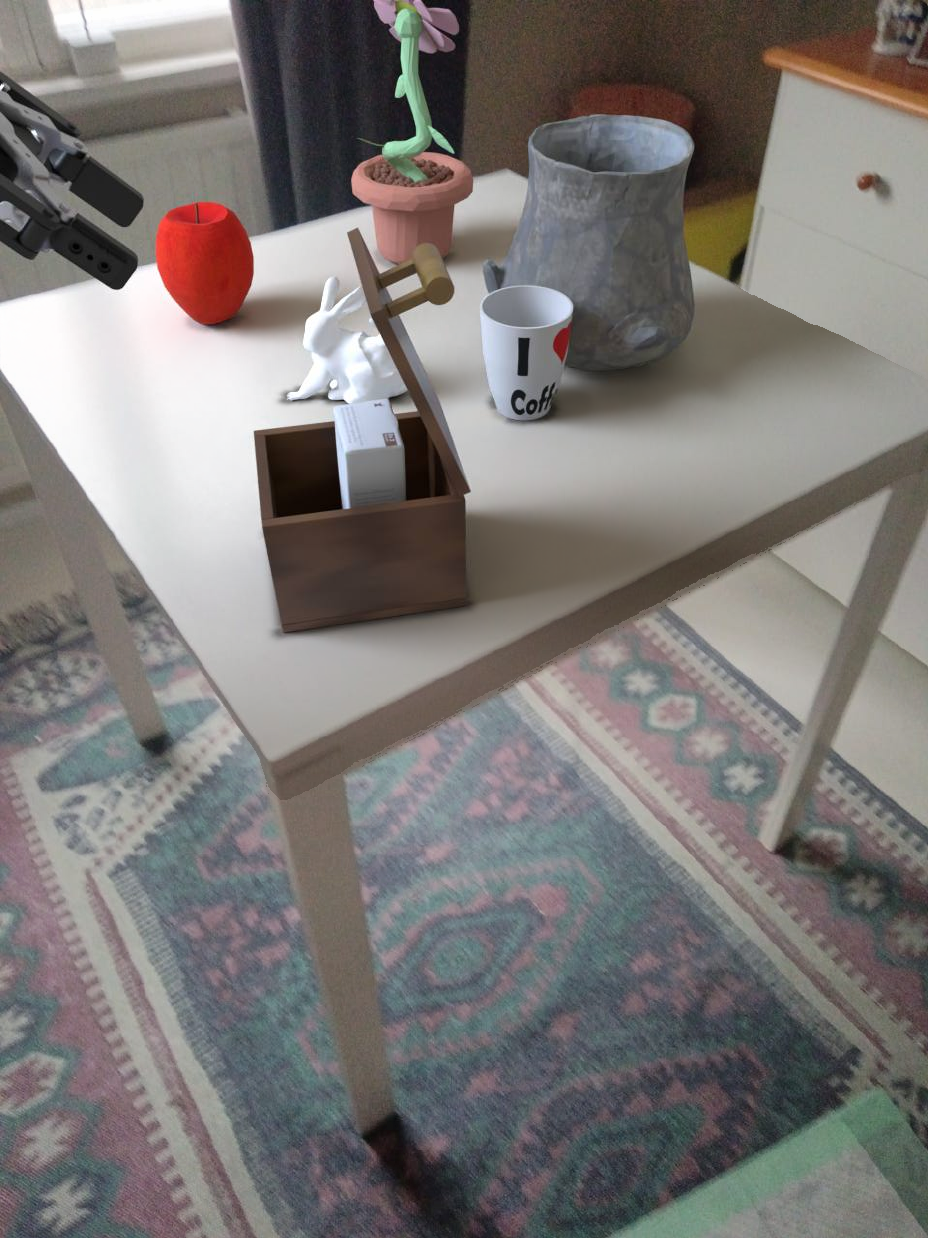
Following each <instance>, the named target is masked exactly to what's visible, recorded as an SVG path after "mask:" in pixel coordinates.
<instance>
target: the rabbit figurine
mask: <svg viewBox="0 0 928 1238" xmlns="http://www.w3.org/2000/svg"><path fill="white" fill-rule="evenodd" d="M340 284H341V281H340V279H339V278H338V277H337V276H331V277H329V278H328V279H326V282H325V283H324V289H323V294H322V298H321V304H320V308H319V310H318V311H317V312H315V313H313V314H312V315H310V316H309V317H308V318H307V320H306V322H305V326H304V327H305V329H304V335H303V342H302V343H303V347H304V349H305V350H306V351H308V352H310V353H311V357H312V361H313V365H312V367H311V369H310V371H309V373H308V375H307V377H305V379H304V381H303V383H302V384H301V386H300V388H299V390H298V391H290V392H288V393H287V395H286V397H287V398H286V400H290V401H293V400H306V399H308V398H309V397H311V396H313V395H315V394H317V393H319V392H321V391H322V390H323V389H326V387H327V386H328V385H329V387H330V388H331V389H329V391H328V394H327V397H328V399H329V400H331V401H340V400H344V401H345V402H346V404H352V403H359V402H366V401H372V400H380V399H389V398H392V397H397V396H400V395H402V394H405V393H407V392H408V390H407V388H406V386H405V384H404V382H403V380H402V378H401V376H400V374H399V372H398V370H397V368H396V366H395V364H394V362H393V360H392V358H391V356H390V354H389V352H388V350H387V347H386V345H385V343H384V341H383V339H382V337H381V335H380V333H379V334H378V335H377V336H376V335H374V336H372V335H371V334H368V333H367V332H365V331H352V330H350V329H348V328H343V327H341V326H340V325H339V324H338V321H339V320H341V319H342V318H343V317H345V316H346V315H348V314H350V313H352V312H354V311H357V310H358V309H359V308H361V307H362V306H363V305H364V304H365V303H367V301H366V298H365V294H364V291H363V287H362V285H360V286H358V287H357V288H355V289H354V290H353V291H351V292H350V293H349V294H348V295H346V296H344V297H343V298H342V299H340V300H339V302H338V303H336V304H335V302H336V297H337V295H338V291H339V289H340ZM368 322H369V325H370V326H371V327H372V328H374V329H376V330H378V329H377V327H376V325H375V323H374V321H373V319H372V317H370V318H369V319H368ZM332 379H333V380H332Z"/></svg>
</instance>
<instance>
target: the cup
mask: <svg viewBox="0 0 928 1238" xmlns="http://www.w3.org/2000/svg"><path fill="white" fill-rule="evenodd" d="M572 314H573V304H572V302H571V300H570V299H569V298H568V297H567V296H566V295H564V294H562V293H561V292H558V291H556V290H553V289H550V288H546V287H540V286H529V285H523V286H511V287H506V288H502V289H499V290H496V291H494V292H492V293H490V294H489V293H488V294H487V295H485V296H484V297H483V298H482V299H481V301H480V304H479V315H480V327H481V328H480V329H481V343H482V354H483V361H484V365H485V370H486V377H487V382H488V387H489V389H490V392H491V395H492V398H493V401H494V404H495V406H496V409H497V412H499V414H501V415H502V416H503V417H505V418H507V419H510V420H514V421H533V420H537V419H540V418H542V417H544V416H546V415H547V414H548V413H549V411H550V409H551V407H552V404H553V403H554V400H555V398H556V395H557V392H558V389H559V387H560V384H561V381H562V377H563V373H564V368H565V365H564V364H565V360H566V356H567V352H568V344H569V337H570V329H571V321H572Z"/></svg>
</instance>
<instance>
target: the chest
mask: <svg viewBox="0 0 928 1238" xmlns="http://www.w3.org/2000/svg"><path fill="white" fill-rule="evenodd" d="M394 415H395V416H396V418H397V421H398V428H399V431H400V434H401V438H402V441H403V444H404V452H405V481H406V501H402V502H394V503H386V504H379V505H371V506H364V507H356V508H349V509H342V499H341V488H340V479H339V467H338V457H337V446H336V432H335V420H333V421H332V420H331V421H322V422H315V423H306V424H298V425H290V426H289V425H288V426H281V427H280V426H279V427H273V428H264V429H256V430H253V443H254V452H255V463H256V465H255V466H256V476H257V487H258V498H259V499H258V500H259V509H260V520H261V529H262V535H263V539H264V544H265V550H266V555H267V561H268V565H269V570H270V576H271V580H272V586H273V590H274V595H275V600H276V606H277V610H278V615H279V621H280V624H281V630H282V633H291V632H297V631H303V630H309V629H317V628H325V627H331V626H338V625H344V624H345V625H346V624H352V623H358V622H364V621H371V620H379V619H385V618H392V617H397V616H406V615H413V614H419V613H426V612H432V611H439V610H446V609H453V608H460V607H466V606H467V605H468V598H467V597H468V596H467V595H468V593H467V592H468V590H467V586H468V585H467V583H468V581H467V580H468V579H467V578H468V577H467V514H466V513H467V510H466V509H467V508H466V507H467V506H466V501H467V500H466V497H465V495H463V496H460V495H459V493H458V491H457V489H456V487H455V485H454V483H453V481H452V479H451V477H450V475H449V473H448V471H447V469H446V467H445V465H444V463H443V461H442V459H441V457H440V455H439V453H438V451H437V449H436V447H435V445H434V443H433V441H432V439H431V437H430V435H429V432H428V430H427V428H426V426H425V424H424V422H423V420H422V418H421V416H420V414H419V412H418V410H415V411H414V410H413V411H407V412H399V413H398V412H397V413H394Z"/></svg>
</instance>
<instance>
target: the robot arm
mask: <svg viewBox="0 0 928 1238" xmlns="http://www.w3.org/2000/svg"><path fill="white" fill-rule="evenodd" d="M81 135H82V132H81V130H80V129H79V128H78V127H77V125H76V124H75V123H74V122H72V121H70V120H68V119H67V118H65V117H64V116H63V115H61V114H60V113H58V111H56V110H55V109H53V108H52V107H51V106H49V105H48V104H46V103H45V102H44V101H42V100H41V99H40V98H39V97H37V96H35V95H34V94H32V93H31V92H30V91H28V90H27V89H26V88H24V86H22V85H20V84H19V83H17V82H16V81H15V80H13V79H12V78H10V77H9V76H8V75H7V74H5V73H3V72H2V71H1V70H0V243H1V244H3V245H5V246H6V247H7V248H9V249H11V250H12V251H14V252H15V253H16V254H18V255H19V256H21V257H23V258H25V259H27V260H30V261H34V260H35V259H36V258H37V256H38V255H39V253H40V252H43V253H45V254H51V252H52V251H53V252H55V253H56V254H58V255H59V256H61V257H63V258H64V259H66V260H67V261H69V262H70V263H72V264H73V265H75V266H76V267H78V268H79V269H81V270H82V271H84V272H85V273H87V274H88V275H90V276H91V277H92V278H94V279H96V280H97V281H98V282H101V283H102V284H103V285H105V286H106V287H108V288H109V289H112V290H114V291H120V290H122V289H123V288H124V287H125V286H126V284H127V283H128V282H129V281H130V279H131V278H132V276H133V275H134V274H135V272H136V271H137V269H138V266H139V258H138V255H137V253H136V252H134V251H133V250H132V249H131V248H128V247H127V246H126V245H125V244H123V243H121V241H119V240H118V239H116V238H115V237H114V236H111V235H110V234H108V233H107V232H106V231H105V230H103V229H102V228H100V227H99V226H97V225H96V224H94V223H93V222H92V221H90V220H89V219H87V218H86V217H85V216H83V215H81V214H80V213H79V212H76V213H75V211H74V210H73V209H72V207H70V205H69V204H68V203H67V202H66V201H65V200H64V199H63V198H62V197H61V196H60V195H59V193H57V191H56V190H55V189H54V188H53V187H52V186H51V183H50V182H54V183H56V184H59V185H61V186H67V185H68V184H69V182H70V184H69V186H68V191H69V192H70V193H72V194H74V195H75V196H76V197H77V198H79V199H81V200H82V201H84V202H85V203H86V204H88V205H89V206H91V207H92V208H93V209H94V210H96V211H98V212H99V213H100V214H102V215H103V216H105V217H106V218H107V219H109V220H111V221H112V222H113V223H114V224H116V225H117V226H119V227H121V228H129V227H130V226H131V225H132V224H133V222H134V221H135V219H136V218H137V217H138V215H139V214H140V212H141V211H142V210H143V208H144V201H145V198H144V196H143V194H142V193H141V192H140V191H138V190H137V189H135V187H132V186H131V185H130V184H129V183H128V182H126V181H125V180H124V179H122V178H121V177H119V176H118V175H117V174H115V173H114V172H113V171H111V170H110V169H108V168H107V166H104V165H103V164H101V162H99V161H98V160H96V159H95V158H94V157H93V156H91V155H89V156H87V155H88V154H89V152H90V151H89V149H88V147H87V146H86V145H85V143H84V142H82V141H81V140H80V136H81ZM8 223H12V224H13V226H15V228H17V229H15V228H14V227H13V226H11V225H10V224H8Z"/></svg>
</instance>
